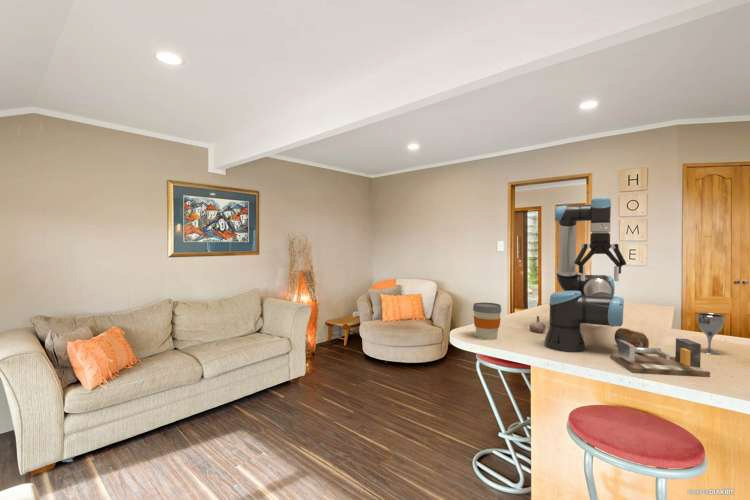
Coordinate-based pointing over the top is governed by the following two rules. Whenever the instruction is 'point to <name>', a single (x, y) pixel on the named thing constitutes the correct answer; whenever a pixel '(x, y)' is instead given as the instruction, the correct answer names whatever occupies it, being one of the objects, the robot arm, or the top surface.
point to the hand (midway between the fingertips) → (599, 281)
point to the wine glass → (710, 328)
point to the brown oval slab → (632, 337)
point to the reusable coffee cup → (487, 319)
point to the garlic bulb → (538, 326)
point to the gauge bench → (667, 362)
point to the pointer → (685, 356)
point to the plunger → (637, 351)
